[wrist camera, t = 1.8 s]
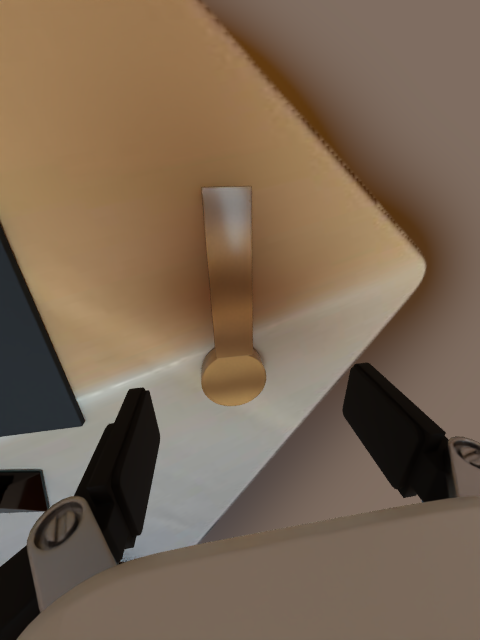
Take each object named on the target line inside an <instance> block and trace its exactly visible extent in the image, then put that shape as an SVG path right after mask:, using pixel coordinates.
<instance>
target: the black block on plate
mask: <svg viewBox="0 0 480 640" xmlns="http://www.w3.org/2000/svg"><path fill="white" fill-rule="evenodd" d="M48 508H49V504H48V499H47V494H46V489H45V484H44V479H43V474H42V471H41V470H0V513H15V512H39V511H47V510H48Z"/></svg>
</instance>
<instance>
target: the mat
mask: <svg viewBox="0 0 480 640" xmlns="http://www.w3.org/2000/svg"><path fill="white" fill-rule="evenodd" d="M84 422H85V421H84V418H83V416H82V414H81V411H80V409H79V407H78V404H77V402H76V400H75V397H74V395H73V393H72V390H71V388H70V386H69V384H68V381H67V379H66V377H65V374H64V372H63V370H62V367H61V365H60V363H59V360H58V358H57V356H56V353H55V351H54V349H53V346H52V344H51V342H50V339H49V337H48V335H47V332H46V330H45V328H44V325H43V323H42V321H41V318H40V316H39V314H38V311H37V309H36V307H35V304H34V302H33V300H32V297H31V295H30V293H29V290H28V288H27V286H26V283H25V281H24V279H23V276H22V274H21V272H20V270H19V267H18V265H17V263H16V260H15V258H14V256H13V253H12V251H11V249H10V246H9V244H8V242H7V239H6V237H5V235H4V232H3V230H2V228H1V225H0V437H2V436H9V435H17V434H25V433H33V432H40V431H48V430H56V429H64V428H72V427H79V426H83V424H84Z"/></svg>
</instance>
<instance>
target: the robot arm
mask: <svg viewBox="0 0 480 640" xmlns="http://www.w3.org/2000/svg"><path fill="white" fill-rule="evenodd" d="M343 415H344V417H345V419H346V420H347V421H348V423H349V424H350V426H351V427H352V429H353V430H354V432H355V433H356V435H357V436H358V437H359V439H360V440H361V442H362V443H363V445H364V446H365V448H366V449H367V450H368V452H369V453H370V455H371V456H372V458H373V459H374V461H375V462H376V464H377V465H378V466H379V468H380V469H381V471H382V472H383V474H384V475H385V477H386V478H387V480H388V481H389V482H390V484H391V485H392V487H394V488H395V489H398V491H399V492H400V494H401V495H402V496H403V498H406V497H411V496H416V495H418V496H419V497H420V499H421V500H422V503H417V504H411V505H405V506H400V507H394V508H389V509H383V510H378V511H372V512H367V513H361V514H356V515H351V516H345V517H339V518H334V519H329V520H323V521H318V522H313V523H307V524H302V525H297V526H291V527H286V528H281V529H275V530H270V531H265V532H260V533H255V534H250V535H244V536H239V537H234V538H229V539H224V540H219V541H213V542H208V543H203V544H198V545H194V546H189V547H184V548H180V549H175V550H170V551H166V552H161V553H156V554H152V555H149V556H145V557H141V558H138V559H134V560H130V561H127V562H124V563H122V564H119V563H118V562H119V561H120V560H121V559H122V557H123V553H124V549H128V548H133V547H134V544H135V540H136V536H137V535H140V534H141V533H142V529H143V525H144V520H145V514H146V509H147V504H148V499H149V494H150V489H151V484H152V479H153V474H154V469H155V464H156V459H157V454H158V449H159V444H160V433H159V429H158V424H157V420H156V416H155V412H154V408H153V404H152V400H151V396H150V392H149V390H147V391H145V389H144V388H134V389H129V391H128V393H127V395H126V397H125V399H124V402H123V404H122V406H121V409H120V411H119V413H118V416H117V418H116V420H115V422H114V423H112V424H109V425H107V427H106V428H105V430H104V433H103V435H102V437H101V439H100V441H99V443H98V445H97V448H96V450H95V452H94V454H93V456H92V458H91V460H90V463H89V465H88V467H87V469H86V471H85V473H84V476H83V478H82V480H81V482H80V484H79V486H78V488H77V491H76V493H75V495H74V496H71V497H68V498H65V499H62V500H61V501H59V502H57V503H56V504H54V505H52V506H51V507H50V508H49V509H48V510H47V511H45V512H44V513H43V514H42V516H41V517H40V518H39V519H38V520H37V521H36V523H35V524H34V526H33V528H32V529H31V531H30V534H29V537H28V539H27V545H26V546H25V547H24V548H23V549H22V550H20V551H19V552H18V553H17V554H15V555H14V556H13V557H12V558H11V559H9V560H8V561H7V562H6V563H5V564H3V565H2V566H1V567H0V640H480V443H479V442H477V441H474V440H472V439H469V438H465V437H452V438H450V439H449V440H448V439H447V438H446V437H445V431H443V430H442V429H441V428H440V427H439V426H438V425H437V424H436V423H435V422H434V421H432V420H431V419H430V418H429V417H428V416H427V415H426V414H425V413H424V412H422V411H421V410H420V409H419V408H418V407H417V406H416V405H415V404H414V403H413V402H411V401H410V400H409V399H408V398H407V397H406V396H405V395H404V394H403V393H402V392H400V391H399V390H398V389H397V388H396V387H395V386H394V385H393V384H391V383H390V382H389V381H388V380H387V379H386V378H385V377H384V376H383V375H382V374H380V373H379V372H378V371H377V370H376V369H375V368H374V367H373V366H372V365H370V364H369V363H360V364H355V365H354V366H353V367H352V368H351V370H350V375H349V380H348V385H347V390H346V395H345V399H344V404H343Z"/></svg>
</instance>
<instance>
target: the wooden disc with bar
mask: <svg viewBox="0 0 480 640" xmlns="http://www.w3.org/2000/svg"><path fill="white" fill-rule="evenodd" d="M201 191H202V202H203V214H204V225H205V237H206V249H207V260H208V272H209V283H210V295H211V306H212V318H213V330H214V341H215V348H214V349H213V350H212V351H210V352H209V353H208V355H207V356H206V357H205V359H204V361H203V364H202V372H201V384H202V389H203V391H204V393H205V395H206V396H207V397H208V398H209V399H210V400H211V401H213V402H215V403H217V404H220V405H224V406H237V405H242V404H245V403H247V402H249V401H251V400H253V399H254V398H255V397H257V396H258V395H259V394H260V392H261V391H262V390H263V388H264V386H265V383H266V371H265V369H264V366H263V363H262V361H261V358H260V356H259V354H258V353H257V352H256V351H255V350H254V349H253V314H252V187H251V186H226V187H201Z"/></svg>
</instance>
